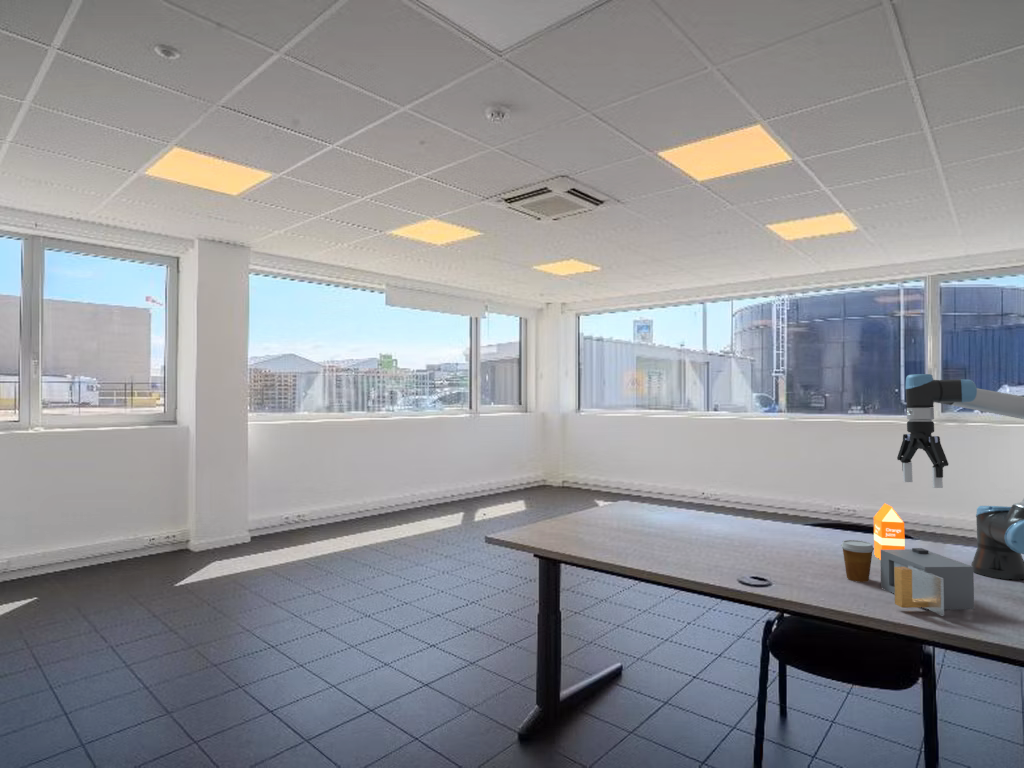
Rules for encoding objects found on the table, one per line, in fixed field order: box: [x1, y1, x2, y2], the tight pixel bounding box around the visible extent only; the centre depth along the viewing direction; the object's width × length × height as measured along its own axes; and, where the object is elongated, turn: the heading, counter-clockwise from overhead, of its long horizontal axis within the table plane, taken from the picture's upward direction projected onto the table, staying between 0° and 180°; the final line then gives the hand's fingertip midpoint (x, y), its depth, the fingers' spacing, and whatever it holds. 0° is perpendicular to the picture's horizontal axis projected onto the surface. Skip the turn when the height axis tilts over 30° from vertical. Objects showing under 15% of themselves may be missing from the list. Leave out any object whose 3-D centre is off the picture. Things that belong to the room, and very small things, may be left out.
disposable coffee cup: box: [840, 539, 874, 583], centre depth 201 cm, size 10×10×12 cm
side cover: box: [894, 565, 945, 617], centre depth 171 cm, size 8×13×11 cm, turn 2°
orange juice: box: [872, 503, 906, 561], centre depth 227 cm, size 8×9×20 cm
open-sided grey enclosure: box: [880, 547, 975, 611], centre depth 182 cm, size 14×20×13 cm
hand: (922, 484), depth 201 cm, fingers open, 13 cm apart
